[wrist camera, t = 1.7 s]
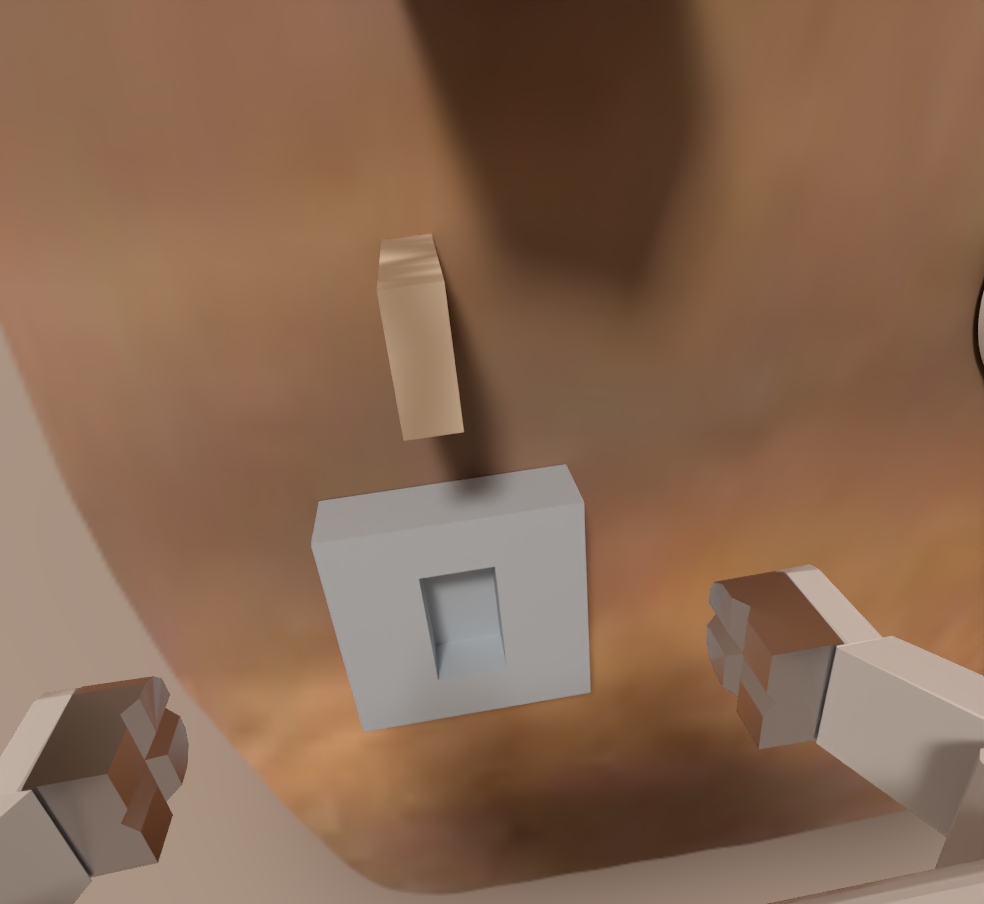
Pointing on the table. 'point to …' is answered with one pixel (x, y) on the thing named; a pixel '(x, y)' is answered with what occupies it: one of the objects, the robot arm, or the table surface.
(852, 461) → the table surface
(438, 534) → the grey peg hole block
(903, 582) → the table surface
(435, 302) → the wooden peg
